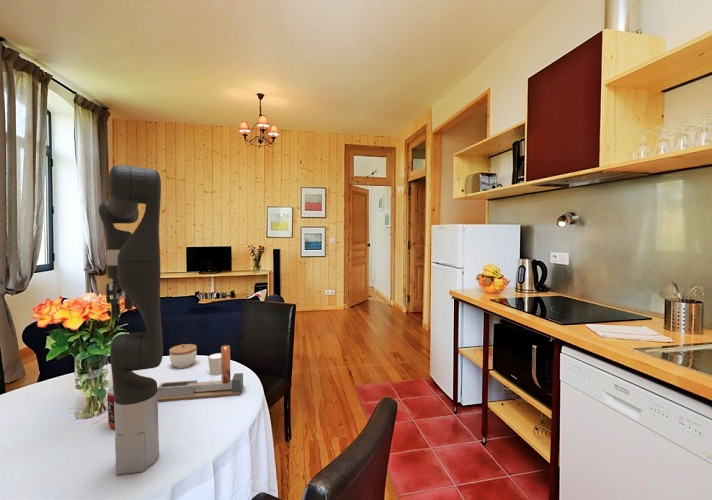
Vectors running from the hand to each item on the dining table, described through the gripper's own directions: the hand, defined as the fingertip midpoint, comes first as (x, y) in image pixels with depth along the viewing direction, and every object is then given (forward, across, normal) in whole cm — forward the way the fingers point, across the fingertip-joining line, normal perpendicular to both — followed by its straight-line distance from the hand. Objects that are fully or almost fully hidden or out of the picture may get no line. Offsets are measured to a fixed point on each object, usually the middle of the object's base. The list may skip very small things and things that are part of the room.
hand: (122, 312), depth 111 cm
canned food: (+32, -10, -4) cm, 34 cm away
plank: (+32, +5, -22) cm, 40 cm away
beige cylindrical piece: (+32, +24, -24) cm, 47 cm away
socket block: (+31, +5, -35) cm, 47 cm away
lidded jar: (+32, +34, -8) cm, 48 cm away
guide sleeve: (+31, +5, -15) cm, 35 cm away
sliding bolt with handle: (+31, +5, -27) cm, 41 cm away
